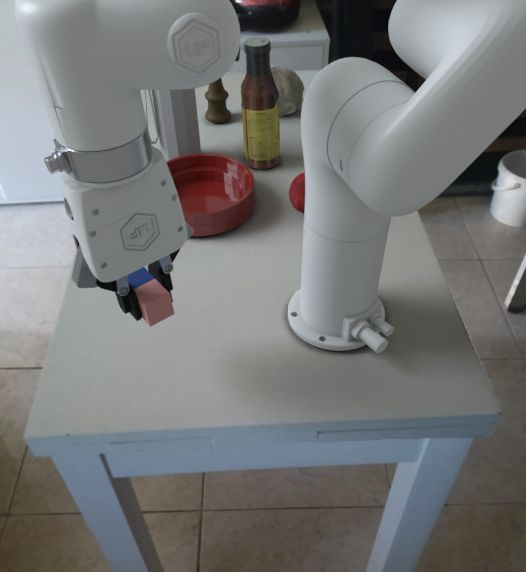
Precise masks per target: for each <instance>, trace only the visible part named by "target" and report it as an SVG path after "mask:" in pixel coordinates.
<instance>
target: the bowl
mask: <svg viewBox="0 0 526 572" xmlns="http://www.w3.org/2000/svg"><path fill="white" fill-rule="evenodd" d="M166 163H167V165H168V168H169V170H170V173H171V176H172V179H173V181H174V184H175V187H176V190H177V193H178V196H179V200H180V203H181V207H182V211H183V215H184V219H185V222H186V223H187V224H188V225H189V226H190V227H191V228H192V229H193V234H192V235H191V237H205V236H213V235H217V234H222V233H225V232H229V231H230V230H233V229H234V228H237V227H239V226H241V225H242V224H243V223H244V222H245V221H247V220H248V219H249V217H250V216H251V215H252V213H253V212H254V210H255V205H256V181H255V176H254V173H253V171H252V170H251V169H250V167H249V166H248V165H246V164H245V163H243V162H242V161H240V160H238V159H236V158H233V157H231V156H227V155H223V154H218V153H201V154H190V155H185V156H180V157H176V158H173V159H171V160H168V161H166Z"/></svg>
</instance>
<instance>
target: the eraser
mask: <svg viewBox="0 0 526 572" xmlns="http://www.w3.org/2000/svg"><path fill="white" fill-rule="evenodd" d="M127 276H128V283H129V285H130V286H131V287H132V289H133V290H134V291H135V292H136V295H137V298H138V302H139V305H140V309H141V312H142V316H143V317H142V320H143V321H144V322H146V323H147V325H148V326H149V327H153V326H155V325H157V324H158V323H161V322H162V321H164V320H166V319H169V318H170V317H171V316H174V315H175V309H174V305H173V303H172V300H171V296H170V293H169V292H168V291H167V290H166V289H165V288H164V287H163V286H162V285H161V284H160V283H159V282H158V281H157V280H156V279H155V278H154V277H153V276H152V275H151V274H150V273H149V271H148V268H146V266H145V267H143V268H141V269H139V270H137V271H135V272H133V273H130V274H128V275H127Z"/></svg>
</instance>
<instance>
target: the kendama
mask: <svg viewBox="0 0 526 572" xmlns="http://www.w3.org/2000/svg"><path fill="white" fill-rule="evenodd" d="M240 57H241V47H240V48H239V51H238V55H237V57H236V59H235V62H239V61H240ZM229 95H230V93H229V92H228V91H227V90H226V89H225V87H224V83H223V80H222V77H221V78H220V79H218V80H217V81H215V82H213V83H211V84H208V88H207V91H206V92H205V93H204V99H205V100H206V101H207V110H206V111H205V113H204V117H205V120H207V121H208V122H210V123H213V124H220V123H225V122H227V121H229V120H230V119H231V118H232V112H231V110H229V108H228V107H227V100H228V98H229Z"/></svg>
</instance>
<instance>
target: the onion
mask: <svg viewBox="0 0 526 572" xmlns="http://www.w3.org/2000/svg"><path fill="white" fill-rule="evenodd" d="M288 198H289V199H288V200H289V202H290V203H291V206H292V207H293V208H294V209H295V210H296V211H297V212H299V213H301V214H304V211H305V171H303V172H301V173H299V174H298V175H296V176H295V177H294V179H292V181H291V183H290V186H289V189H288Z"/></svg>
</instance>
